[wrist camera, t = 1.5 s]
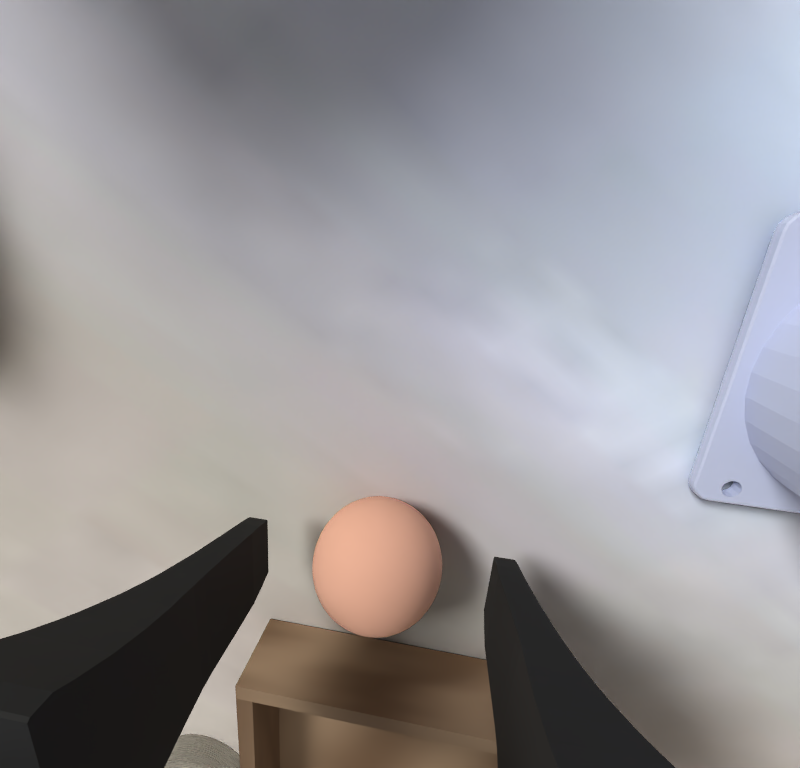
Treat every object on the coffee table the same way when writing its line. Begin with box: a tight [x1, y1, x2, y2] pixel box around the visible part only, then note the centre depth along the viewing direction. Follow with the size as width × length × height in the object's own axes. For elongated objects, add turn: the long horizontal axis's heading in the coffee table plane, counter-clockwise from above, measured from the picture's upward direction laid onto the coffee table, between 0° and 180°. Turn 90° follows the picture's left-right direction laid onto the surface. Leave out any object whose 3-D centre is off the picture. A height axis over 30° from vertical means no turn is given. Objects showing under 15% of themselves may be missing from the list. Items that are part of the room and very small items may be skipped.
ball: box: [313, 496, 442, 638], centre depth 13 cm, size 4×4×4 cm
